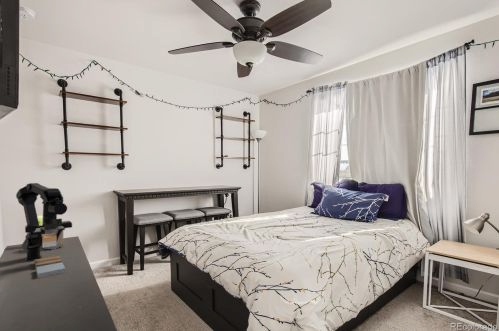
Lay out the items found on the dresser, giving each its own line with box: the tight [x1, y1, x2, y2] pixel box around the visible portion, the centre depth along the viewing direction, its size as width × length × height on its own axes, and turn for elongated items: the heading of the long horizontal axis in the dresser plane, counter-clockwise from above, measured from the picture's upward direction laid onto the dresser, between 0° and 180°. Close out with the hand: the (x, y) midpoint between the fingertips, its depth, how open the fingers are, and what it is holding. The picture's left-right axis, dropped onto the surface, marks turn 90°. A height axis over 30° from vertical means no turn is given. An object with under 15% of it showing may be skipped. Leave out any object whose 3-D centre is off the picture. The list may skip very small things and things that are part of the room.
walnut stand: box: [34, 255, 62, 269], centre depth 129 cm, size 10×10×2 cm
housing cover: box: [42, 233, 57, 243], centre depth 129 cm, size 7×6×2 cm
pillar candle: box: [43, 227, 64, 250], centre depth 155 cm, size 10×10×15 cm
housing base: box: [41, 241, 56, 248], centre depth 129 cm, size 7×6×2 cm
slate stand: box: [35, 261, 66, 279], centre depth 120 cm, size 10×10×2 cm
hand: (48, 243), depth 129 cm, fingers closed on housing base, housing cover, 5 cm apart
